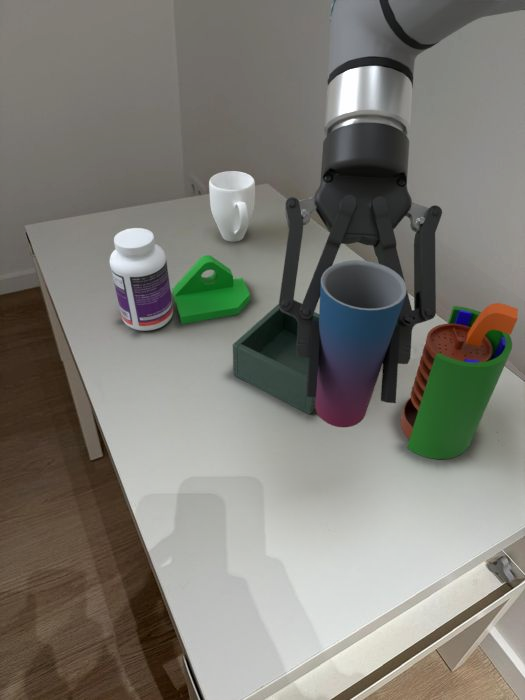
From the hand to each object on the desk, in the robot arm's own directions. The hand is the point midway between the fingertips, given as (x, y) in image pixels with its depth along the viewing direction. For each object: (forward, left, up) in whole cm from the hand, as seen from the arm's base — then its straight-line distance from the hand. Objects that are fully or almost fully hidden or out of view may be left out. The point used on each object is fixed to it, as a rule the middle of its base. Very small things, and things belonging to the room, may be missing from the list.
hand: (349, 398), depth 45 cm
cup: (+2, -3, -6) cm, 7 cm away
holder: (+15, -17, -18) cm, 29 cm away
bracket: (+34, -22, -19) cm, 45 cm away
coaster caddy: (-5, -18, -19) cm, 27 cm away
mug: (+43, -40, -19) cm, 62 cm away
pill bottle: (+40, -13, -19) cm, 46 cm away
